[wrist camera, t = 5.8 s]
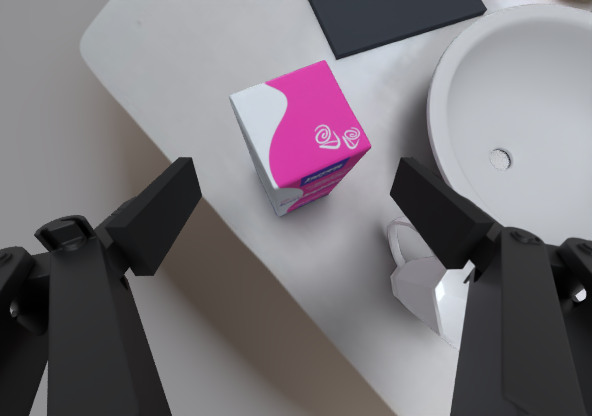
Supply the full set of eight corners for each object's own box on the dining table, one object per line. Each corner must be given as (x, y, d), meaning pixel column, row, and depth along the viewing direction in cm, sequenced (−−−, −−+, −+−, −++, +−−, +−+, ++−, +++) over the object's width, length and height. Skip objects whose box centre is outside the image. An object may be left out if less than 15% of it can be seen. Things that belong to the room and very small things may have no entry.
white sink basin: (367, 77, 25) (396, 16, 18) (557, 53, 26) (645, -10, 20) (424, 295, 21) (486, 317, 14) (643, 251, 22) (789, 253, 16)
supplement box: (279, 220, 21) (269, 191, 10) (255, 168, 22) (222, 88, 11) (330, 196, 22) (376, 144, 11) (305, 147, 23) (323, 51, 12)
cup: (401, 337, 20) (476, 396, 12) (347, 240, 21) (382, 236, 13) (461, 299, 21) (569, 331, 13) (406, 208, 22) (472, 187, 14)
